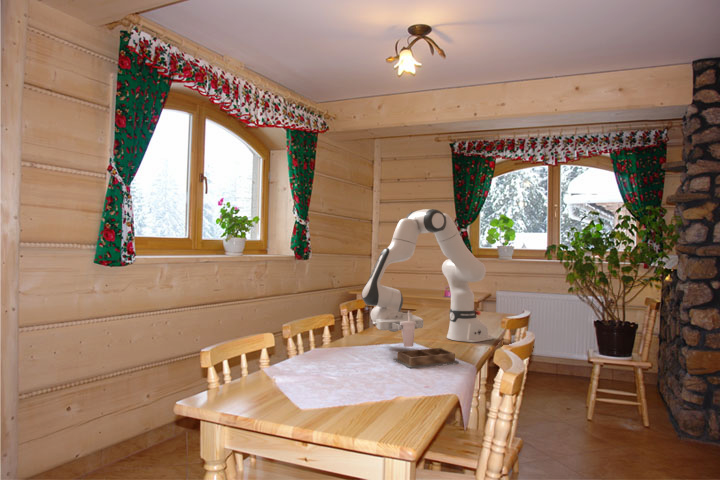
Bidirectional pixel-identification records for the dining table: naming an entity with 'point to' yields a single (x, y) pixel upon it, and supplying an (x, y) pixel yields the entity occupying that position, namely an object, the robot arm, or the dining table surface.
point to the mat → (423, 365)
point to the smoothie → (408, 332)
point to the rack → (425, 356)
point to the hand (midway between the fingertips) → (408, 327)
